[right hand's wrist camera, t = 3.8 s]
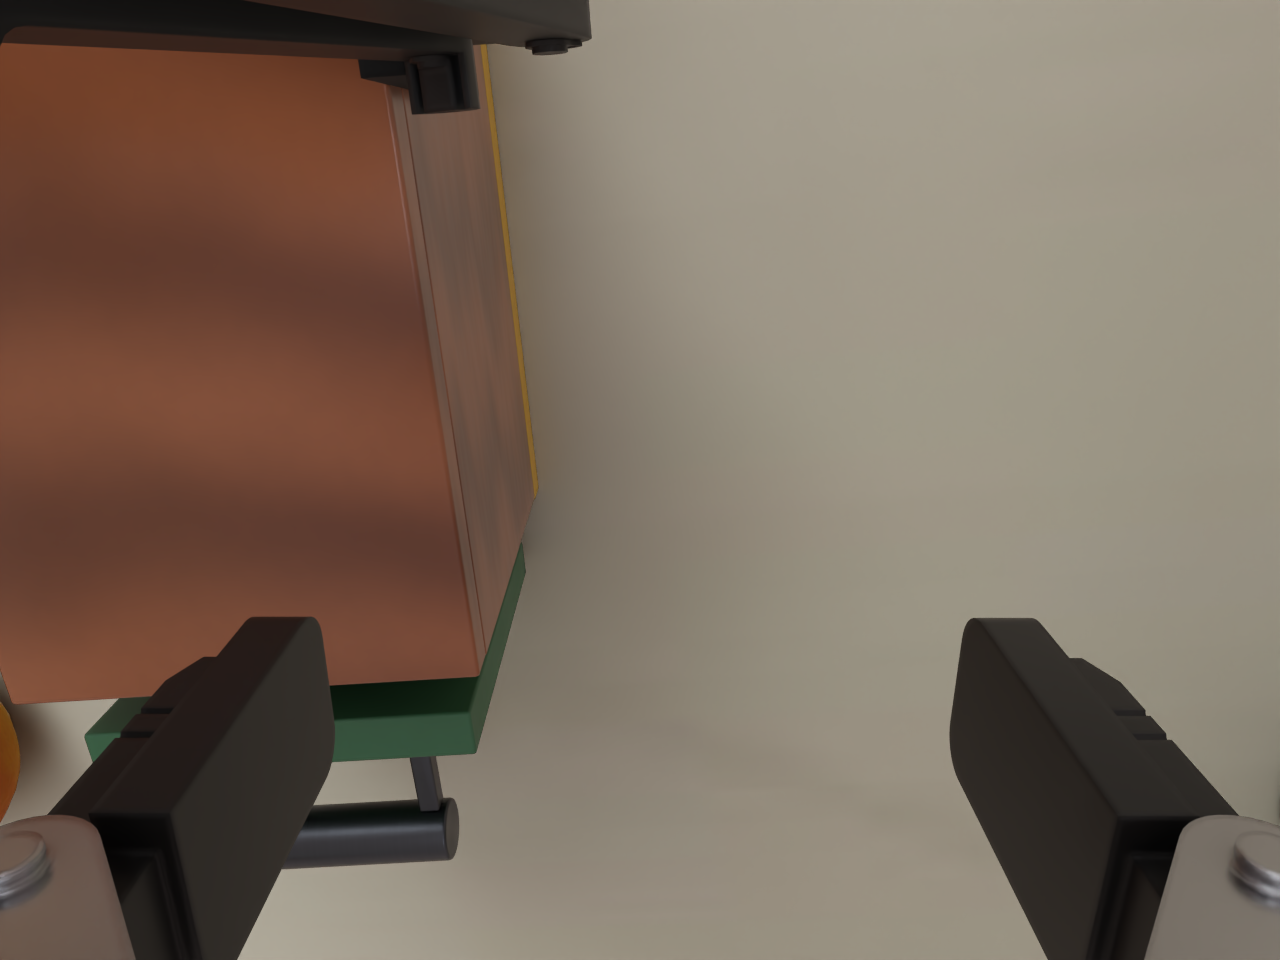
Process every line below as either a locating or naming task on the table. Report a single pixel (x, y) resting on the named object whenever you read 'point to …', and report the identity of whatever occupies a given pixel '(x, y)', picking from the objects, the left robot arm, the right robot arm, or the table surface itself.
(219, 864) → the right robot arm
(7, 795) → the fruit
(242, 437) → the cabinet
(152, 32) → the left robot arm
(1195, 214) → the table surface
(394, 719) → the drawer
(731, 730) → the table surface
